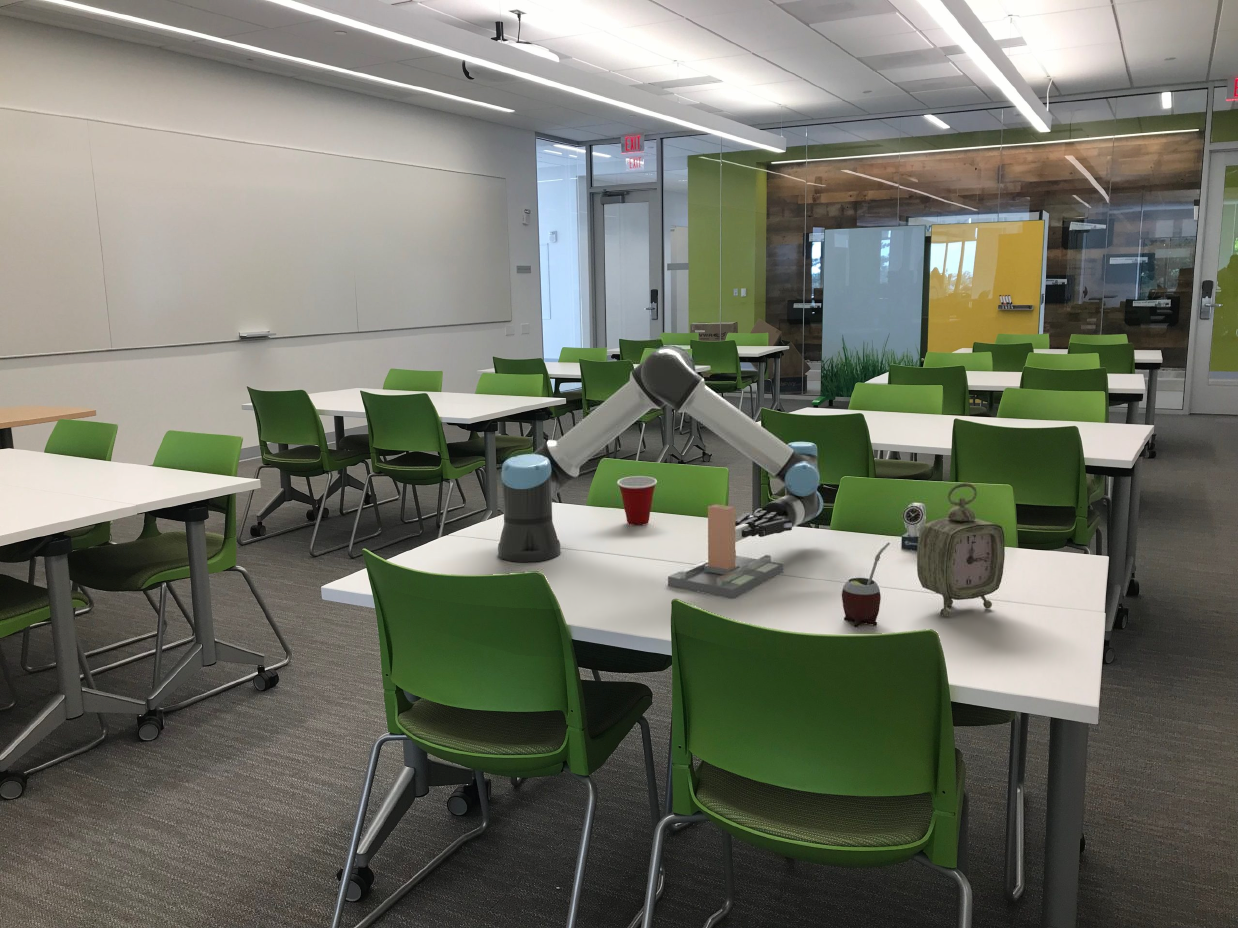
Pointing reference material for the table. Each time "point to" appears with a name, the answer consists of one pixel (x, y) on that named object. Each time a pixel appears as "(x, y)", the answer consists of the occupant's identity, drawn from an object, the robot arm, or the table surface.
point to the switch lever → (721, 539)
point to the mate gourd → (862, 598)
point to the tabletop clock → (961, 555)
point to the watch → (913, 525)
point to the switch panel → (727, 577)
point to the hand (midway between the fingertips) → (730, 536)
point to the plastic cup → (637, 498)
